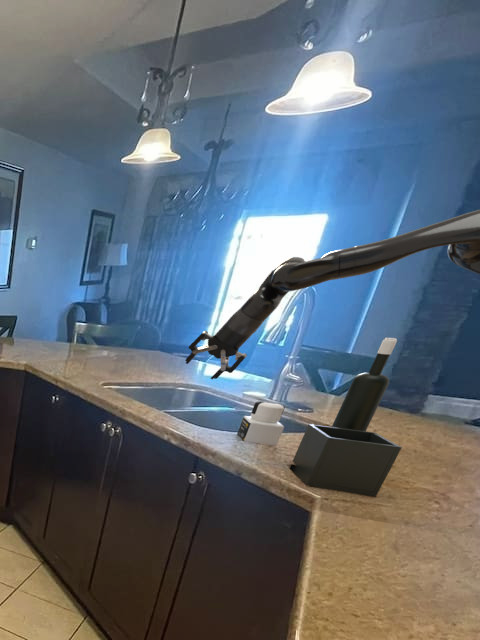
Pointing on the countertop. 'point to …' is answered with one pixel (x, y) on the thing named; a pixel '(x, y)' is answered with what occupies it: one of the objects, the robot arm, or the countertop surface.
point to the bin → (344, 459)
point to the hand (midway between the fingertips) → (199, 370)
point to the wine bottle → (365, 392)
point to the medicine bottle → (262, 424)
